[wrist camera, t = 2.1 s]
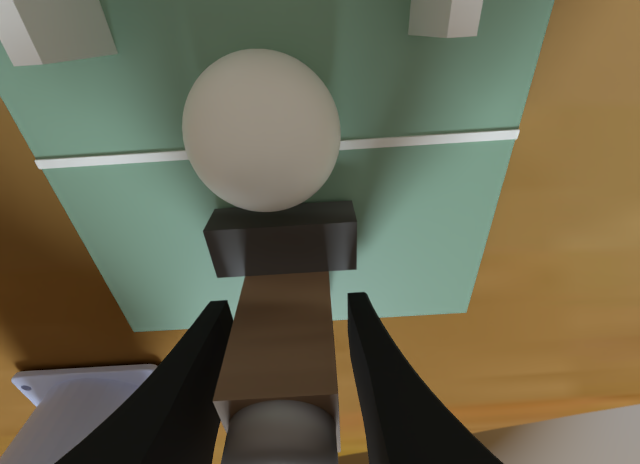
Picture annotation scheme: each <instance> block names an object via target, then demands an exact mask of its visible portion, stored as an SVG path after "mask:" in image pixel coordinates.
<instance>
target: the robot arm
mask: <svg viewBox="0 0 640 464" xmlns="http://www.w3.org/2000/svg"><path fill="white" fill-rule="evenodd" d="M347 299H348V337H349V347H350V357H351V362H352V367H353V372H354V377H355V382H356V387H357V392H358V397H359V402H360V407H361V411H362V416H363V421H364V427H365V433H366V440H367V449H368V456H369V464H503V463H502V462H501V461H500V460H499V459H498V458H496V456H494V455H493V454H492V453H491V452H490V451H489V450H488V449H487V448H486V447H485V446H484V445H483V444H482V443H481V442H480V441H479V440H478V439H477V438H475V437H474V436H473V435H472V434H471V433H470V432H469V430H468V429H467V428H466V427H465V426H464V425H463V424H462V423H461V422H460V421H459V420H458V419H457V418H456V417H455V416H454V415H453V414H452V413H451V412H450V411H449V410H448V409H447V408H446V407H445V406H444V405H443V403H442V402H441V401H440V400H439V399H438V398H437V397H436V396H435V394H434V393H433V392H432V391H431V390H430V389H429V387H428V386H427V385H426V384H425V383H424V381H423V380H422V379H421V378H420V377H419V375H418V374H417V373H416V372H415V370H414V369H413V368H412V366H411V365H410V364H409V362H408V361H407V360H406V358H405V357H404V355H403V354H402V353H401V351H400V350H399V348H398V347H397V346H396V344H395V343H394V341H393V339H392V338H391V336H390V335H389V333H388V332H387V330H386V329H385V327H384V325H383V324H382V322H381V320H380V318H379V317H378V315H377V313H376V311H375V309H374V308H373V306H372V304H371V301H370V299H369V297H368V294H367V293H365V292H353V293H347ZM232 324H233V317H232V314H231V311H230V307H229V304H228V300H219V301H210V302H209V303H208V304H207V306H206V307H205V308H204V310H203V311H202V312H201V314H200V315H199V316H198V318H197V319H196V320H195V322H194V323H193V324H192V325H191V327H190V328H189V329H188V331H187V332H186V333H185V334H184V336H183V337H182V338H181V339H180V341H179V342H178V343H177V344H176V345H175V347H174V348H173V349H172V350H171V352H170V353H169V354H168V355H167V356H166V358H165V359H164V360H163V361H162V362H161V363H160V364H159V365H158V366H157V365H154V364H138V365H120V366H103V367H86V368H69V369H52V370H35V371H21V372H17V373H16V374H15V375H14V376H13V378H12V380H11V381H12V383H13V384H14V385H15V386H16V387H17V388H18V389H19V390H20V391H21V392H22V393H23V394H24V395H25V396H26V397H27V398H28V399H29V400H30V401H31V402H32V403H33V404H34V405H35V406H36V409H35V410H34V412H33V413H32V414H31V416H30V417H29V419H28V420H27V421H26V423H25V424H24V425H23V427H22V428H21V430H20V431H19V432H18V434H17V435H16V437H15V438H14V439H13V441H12V442H11V444H10V445H9V446H8V448H7V449H6V451H5V452H4V453H3V455H2V456H1V457H0V464H212V459H213V453H214V447H215V442H216V437H217V433H218V428H219V424H220V421H221V419H220V417H219V415H218V413H217V410H216V408H215V406H214V403H213V397H214V394H215V390H216V386H217V382H218V378H219V374H220V371H221V367H222V363H223V359H224V355H225V351H226V347H227V344H228V340H229V336H230V332H231V328H232Z"/></svg>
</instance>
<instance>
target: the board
mask: <svg viewBox="0 0 640 464" xmlns="http://www.w3.org/2000/svg"><path fill="white" fill-rule="evenodd" d="M99 1H100V4H101V7H102V10H103V12H104V15H105V18H106V21H107V24H108V27H109V29H110V32H111V35H112V38H113V41H114V44H115V46H116V49H117V52H118V54H114V55H107V56H100V57H93V58H86V59H79V60H72V61H65V62H57V63H50V64H43V65H28V66H13V64H12V62H11V60H10V58H9V56H8V54H7V52H6V50H5V48H4V47H3V45H2V43H1V41H0V96H1V98H2V100H3V102H4V103H5V105H6V107H7V109H8V110H9V112H10V114H11V116H12V117H13V119H14V121H15V123H16V125H17V126H18V128H19V130H20V132H21V133H22V135H23V137H24V139H25V140H26V142H27V144H28V146H29V148H30V149H31V151H32V153H33V155H34V156H35V158H36V160H34V161H35V163H36V165H37V167H38V168H39V169H42V170H43V172H44V174H45V176H46V178H47V179H48V181H49V183H50V185H51V186H52V188H53V190H54V192H55V193H56V195H57V197H58V199H59V201H60V202H61V204H62V206H63V208H64V209H65V211H66V213H67V215H68V216H69V218H70V220H71V222H72V224H73V225H74V227H75V229H76V231H77V232H78V234H79V236H80V238H81V239H82V241H83V243H84V245H85V246H86V248H87V250H88V252H89V254H90V255H91V257H92V259H93V261H94V262H95V264H96V266H97V268H98V269H99V271H100V273H101V275H102V277H103V278H104V280H105V282H106V284H107V285H108V287H109V289H110V291H111V292H112V294H113V296H114V298H115V300H116V301H117V303H118V305H119V307H120V308H121V310H122V312H123V314H124V315H125V317H126V319H127V321H128V322H129V324H130V326H131V328H132V330H133V331H134V332H144V331H161V330H178V329H189V328H190V327H191V325H192V324H193V323H194V322H195V320H196V319H197V318H198V316H199V315H200V314H201V312H202V311H203V310H204V308H205V307H206V306H207V304H208V303H209V302H210V301H219V300H228V304H229V307H230V311H231V314H232V317H233V321H234V317H235V313H236V309H237V305H238V301H239V297H240V294H241V290H242V286H243V282H244V278H245V276H242V277H226V278H217V276H216V273H215V269H214V266H213V263H212V260H211V256H210V253H209V250H208V247H207V243H206V240H205V237H204V233H203V230H204V228H205V226H206V224H207V222H208V220H209V218H210V217H211V215H212V213H213V211H214V209H220V208H236V206H234V205H232V204H230V203H228V202H226V201H224V200H223V199H221V198H220V197H218V196H217V195H216V194H214V193H213V192H212V191H211V190H210V189H209V188H208V187H207V186H206V185H205V184H204V183H203V182H202V181H201V179H200V178H199V177H198V175H197V174H196V172H195V170H194V169H193V167H192V165H191V163H190V161H189V159H188V156H187V153H186V150H185V146H184V142H183V133H182V116H183V111H184V105H185V102H186V100H187V97H188V94H189V92H190V90H191V88H192V86H193V84H194V82H195V81H196V80H197V78H198V77H199V76H200V74H201V73H202V72H203V71H204V70H205V69H206V68H207V67H208V66H210V65H211V64H212V63H214V62H215V61H217V60H218V59H220V58H221V57H223V56H226V55H228V54H230V53H233V52H236V51H239V50H245V49H268V50H275V51H278V52H282V53H285V54H287V55H289V56H292V57H294V58H296V59H298V60H299V61H301V62H302V63H304V64H305V65H306V66H308V67H309V68H310V69H311V70H312V71H313V72H315V74H316V75H317V76H318V77H319V78H320V79H321V80H322V81H323V83H324V84H325V86H326V87H327V89H328V90H329V92H330V94H331V96H332V98H333V100H334V102H335V105H336V108H337V111H338V115H339V120H340V130H341V140H340V149H339V154H338V157H337V160H336V163H335V166H334V168H333V170H332V172H331V174H330V176H329V177H328V179H327V181H326V182H325V183H324V184H323V186H322V187H321V188H320V189H319V190H318V191H317V192H316V193H315V194H314V195H313V196H311V197H310V198H309V199H307V200H306V201H304V202H302V203H317V202H333V201H350V200H352V203H353V207H354V211H355V215H356V219H357V270H342V271H329V282H330V295H331V308H332V320H347V319H348V299H347V293H353V292H365V293H367V294H368V297H369V299H370V301H371V304H372V306H373V308H374V309H375V311H376V313H377V315H378V317H379V318H381V317H398V316H415V315H432V314H449V313H466V312H467V308H468V305H469V301H470V298H471V294H472V291H473V287H474V284H475V280H476V277H477V273H478V269H479V266H480V262H481V259H482V255H483V252H484V248H485V245H486V241H487V238H488V234H489V230H490V227H491V223H492V220H493V216H494V213H495V209H496V206H497V202H498V199H499V195H500V192H501V188H502V184H503V181H504V177H505V174H506V170H507V167H508V163H509V160H510V156H511V153H512V149H513V145H514V142H515V139H517V138H518V135H519V131H520V130H519V129H518V128H519V124H520V121H521V117H522V114H523V110H524V107H525V103H526V99H527V96H528V92H529V89H530V85H531V82H532V78H533V75H534V71H535V68H536V64H537V60H538V57H539V53H540V50H541V46H542V43H543V39H544V36H545V32H546V29H547V25H548V22H549V18H550V14H551V11H552V7H553V4H554V0H483V4H482V10H481V15H480V21H479V26H478V32H477V36H471V37H456V38H439V37H427V36H415V35H408V29H409V17H410V5H411V0H99ZM300 204H301V203H300Z"/></svg>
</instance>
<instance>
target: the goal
mask: <svg viewBox="0 0 640 464" xmlns="http://www.w3.org/2000/svg"><path fill="white" fill-rule="evenodd" d="M482 4H483V0H411V5H410V17H409V29H408V35H415V36H427V37H439V38H456V37H471V36H477V32H478V26H479V21H480V15H481V10H482ZM0 41H1V43H2V45H3V47H4V48H5V50H6V52H7V54H8V56H9V58H10V60H11V62H12V64H13V66H28V65H43V64H50V63H57V62H65V61H72V60H79V59H86V58H93V57H100V56H107V55H114V54H118V52H117V49H116V46H115V44H114V41H113V38H112V35H111V32H110V29H109V27H108V24H107V21H106V18H105V15H104V12H103V10H102V7H101V4H100V1H99V0H0Z"/></svg>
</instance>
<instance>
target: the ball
mask: <svg viewBox="0 0 640 464" xmlns="http://www.w3.org/2000/svg"><path fill="white" fill-rule="evenodd" d="M182 133H183V142H184V146H185V150H186V153H187V156H188V159H189V161H190V163H191V165H192V167H193V169H194V170H195V172H196V174H197V175H198V177H199V178H200V179H201V181H202V182H203V183H204V184H205V185H206V186H207V187H208V188H209V189H210V190H211V191H212V192H213V193H214V194H216V195H217V196H218V197H220V198H221V199H223V200H224V201H226V202H228V203H230V204H232V205H234V206H236V207H239V208H242V209H246V210H250V211H256V212H275V211H281V210H285V209H288V208H291V207H294V206H296V205H298V204H300V203H302V202H304V201H306V200H307V199H309V198H310V197H311V196H313V195H314V194H315V193H316V192H317V191H318V190H319V189H320V188H321V187H322V186H323V184H324V183H325V182H326V181H327V179H328V177H329V176H330V174H331V172H332V170H333V168H334V166H335V163H336V160H337V157H338V154H339V149H340V140H341V130H340V120H339V115H338V111H337V108H336V105H335V102H334V100H333V98H332V96H331V94H330V92H329V90H328V89H327V87H326V86H325V84H324V83H323V81H322V80H321V79H320V78H319V77H318V76H317V75H316V74H315V72H313V71H312V70H311V69H310V68H309V67H308V66H306V65H305V64H304V63H302V62H301V61H299V60H298V59H296V58H294V57H292V56H289V55H287V54H285V53H282V52H278V51H275V50H268V49H245V50H239V51H236V52H233V53H230V54H228V55H226V56H223V57H221V58H220V59H218V60H217V61H215V62H214V63H212V64H211V65H210V66H208V67H207V68H206V69H205V70H204V71H203V72H202V73H201V74H200V76H199V77H198V78H197V80H196V81H195V82H194V84H193V86H192V88H191V90H190V92H189V94H188V97H187V100H186V102H185V105H184V111H183V116H182Z"/></svg>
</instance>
